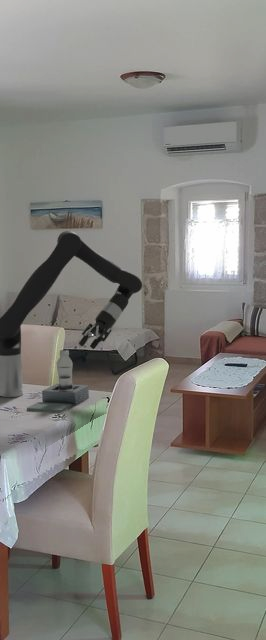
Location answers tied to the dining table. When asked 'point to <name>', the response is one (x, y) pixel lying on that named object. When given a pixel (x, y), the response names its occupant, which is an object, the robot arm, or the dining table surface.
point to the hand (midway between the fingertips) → (86, 346)
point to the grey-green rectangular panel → (49, 407)
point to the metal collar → (65, 395)
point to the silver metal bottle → (64, 371)
